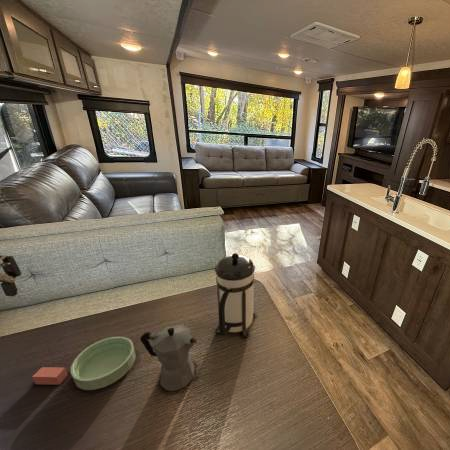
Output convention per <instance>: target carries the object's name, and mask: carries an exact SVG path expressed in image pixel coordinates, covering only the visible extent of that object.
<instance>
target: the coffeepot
mask: <svg viewBox="0 0 450 450" xmlns="http://www.w3.org/2000/svg"><path fill="white" fill-rule="evenodd" d="M150 341H152V345H151V342H150ZM140 342H141V343H142V345H143V346H144V348H145V350H146V351H147V352H148V354H149V356H151V357H157V360H158V362H159V363H160V364H161V369H160V380H159V381H160V382H159V383H160V384H159V385H160V386H161V387H162V388H163V389H165V390H166V391H168V392H173V391H178V390H181V389H184V388H185V387H186V386H187V385H188V384H189V383H190V382H191V381H192V380H193V379H194V378H195V364H194V363H193V359H192V357H191V355H190V350H191V348H192V347H193V346H194V345H195V344H197V343H198V339H197V338H196V337H194V336H193V335H191V329H190V328H188V327H186V326H185V325H183V324H176V325H170V326H166V327H165V328H164V329H162V330H161V331H159V332H157V331H152V332H149V331H146V332H144V333H143V334H142V335H141V336H140Z"/></svg>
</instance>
